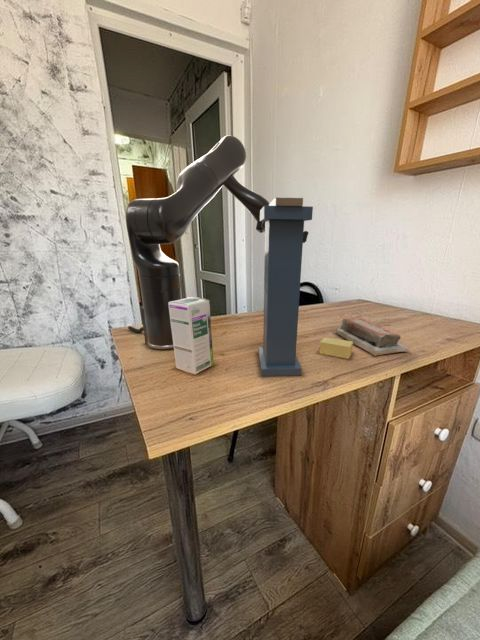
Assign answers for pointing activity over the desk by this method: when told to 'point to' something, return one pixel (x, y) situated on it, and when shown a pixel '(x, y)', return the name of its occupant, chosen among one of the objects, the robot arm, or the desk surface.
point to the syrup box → (191, 334)
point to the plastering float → (370, 336)
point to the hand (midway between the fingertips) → (281, 227)
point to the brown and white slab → (287, 201)
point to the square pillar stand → (282, 287)
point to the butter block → (336, 347)
